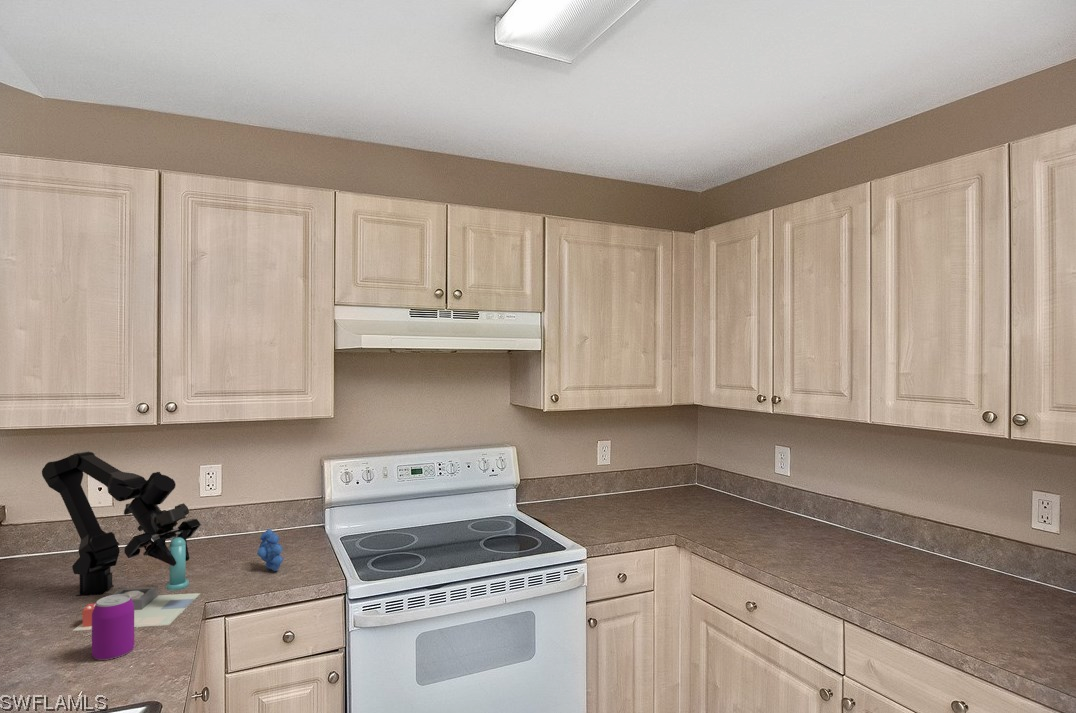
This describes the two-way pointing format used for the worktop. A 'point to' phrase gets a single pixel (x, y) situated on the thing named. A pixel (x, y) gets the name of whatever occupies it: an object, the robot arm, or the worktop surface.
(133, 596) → the dome
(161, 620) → the board
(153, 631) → the worktop surface
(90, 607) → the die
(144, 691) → the worktop surface
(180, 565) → the teal dildo
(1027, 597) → the worktop surface
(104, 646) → the beverage can
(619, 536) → the worktop surface
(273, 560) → the grapes
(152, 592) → the tray
